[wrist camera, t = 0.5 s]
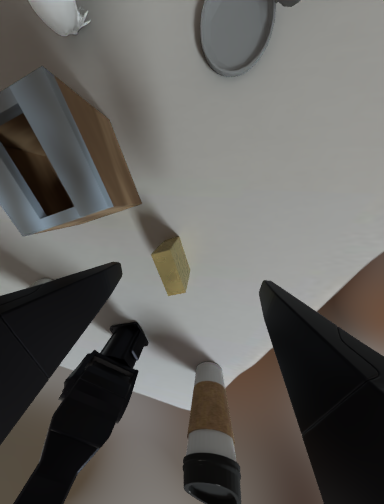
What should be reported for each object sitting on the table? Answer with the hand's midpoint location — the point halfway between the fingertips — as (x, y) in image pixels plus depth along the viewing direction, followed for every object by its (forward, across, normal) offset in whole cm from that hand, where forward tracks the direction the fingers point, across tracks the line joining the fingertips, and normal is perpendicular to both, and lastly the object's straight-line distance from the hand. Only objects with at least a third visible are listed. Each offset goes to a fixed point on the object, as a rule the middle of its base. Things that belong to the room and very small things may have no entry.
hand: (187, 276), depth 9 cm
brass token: (+13, +4, +5) cm, 14 cm away
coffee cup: (+11, -5, +33) cm, 35 cm away
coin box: (+13, +16, -5) cm, 21 cm away
